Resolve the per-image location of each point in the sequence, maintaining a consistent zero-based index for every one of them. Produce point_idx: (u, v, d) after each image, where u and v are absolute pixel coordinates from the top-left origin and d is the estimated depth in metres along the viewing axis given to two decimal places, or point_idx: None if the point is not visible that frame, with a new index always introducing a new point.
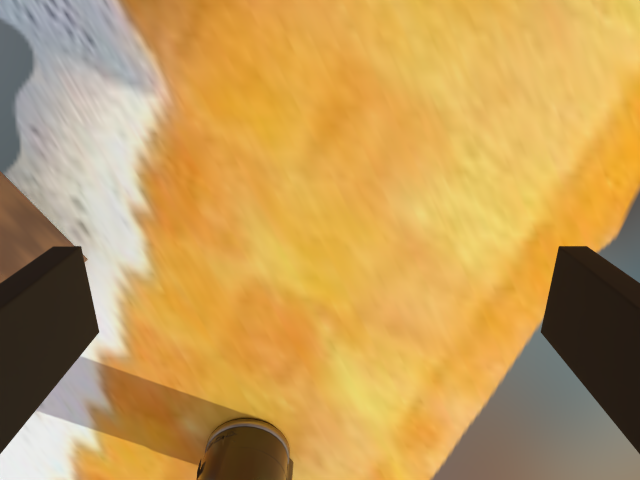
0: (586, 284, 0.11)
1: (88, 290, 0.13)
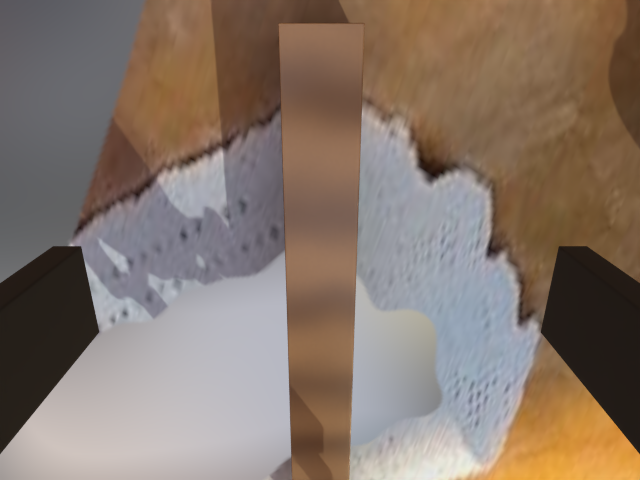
0: (586, 284, 0.11)
1: (88, 290, 0.13)
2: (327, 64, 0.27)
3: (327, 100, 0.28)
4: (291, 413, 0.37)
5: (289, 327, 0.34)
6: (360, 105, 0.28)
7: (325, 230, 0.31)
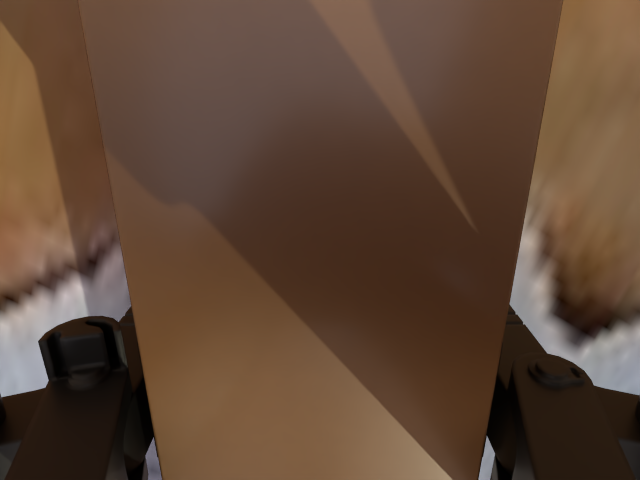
0: None
1: None
2: (354, 84, 0.05)
3: (352, 256, 0.06)
4: None
5: None
6: (509, 279, 0.06)
7: None
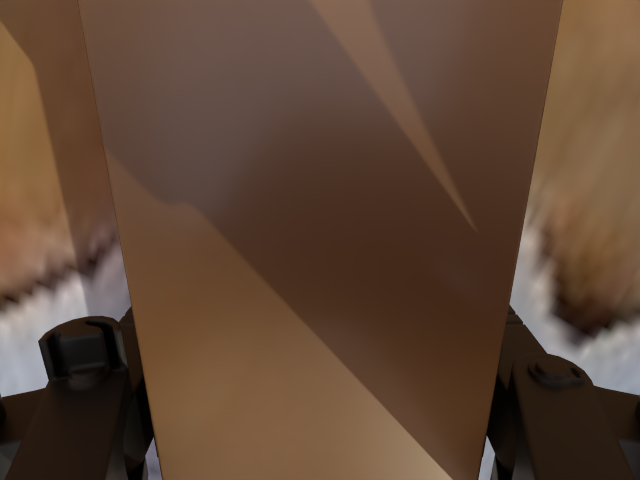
0: None
1: None
2: (354, 84, 0.05)
3: (352, 256, 0.06)
4: None
5: None
6: (509, 279, 0.06)
7: None
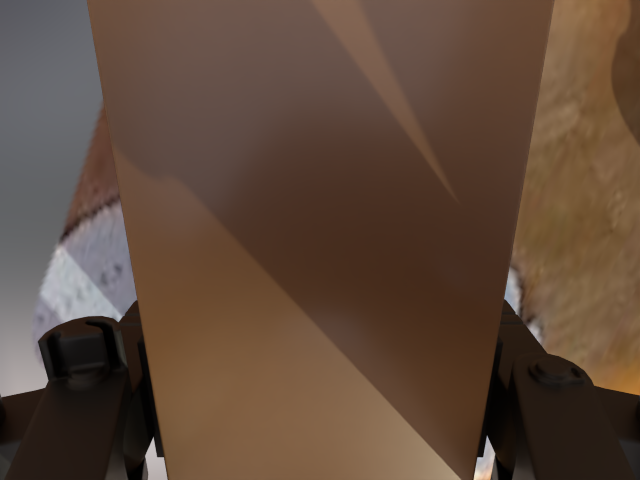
0: None
1: None
2: (354, 76, 0.05)
3: (352, 245, 0.06)
4: None
5: None
6: (504, 267, 0.06)
7: None
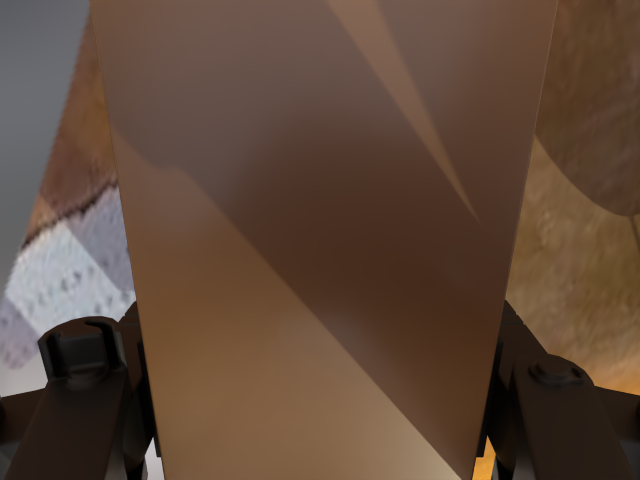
0: None
1: None
2: (356, 77, 0.05)
3: (353, 247, 0.06)
4: None
5: None
6: (505, 270, 0.06)
7: None
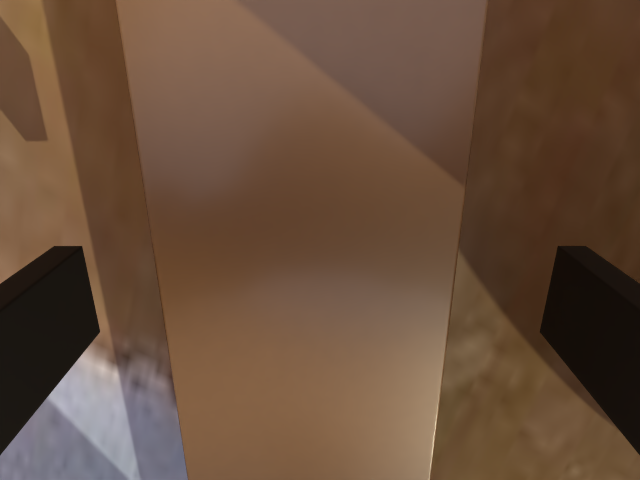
0: (585, 284, 0.11)
1: (89, 289, 0.13)
2: (329, 127, 0.07)
3: (330, 255, 0.07)
4: None
5: None
6: (451, 272, 0.07)
7: None
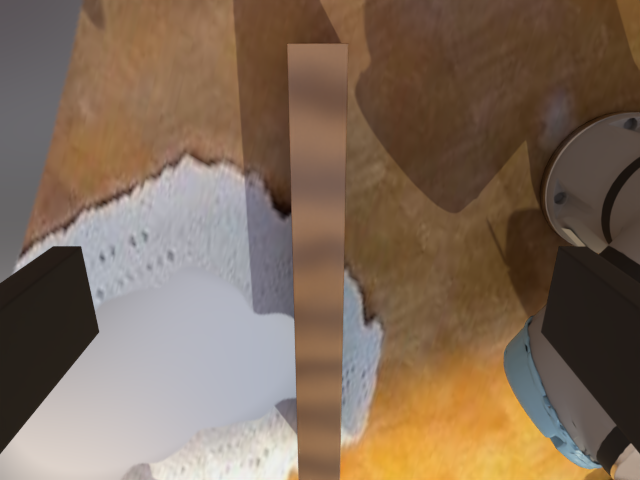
0: (586, 284, 0.11)
1: (88, 290, 0.13)
2: (322, 72, 0.38)
3: (322, 98, 0.38)
4: (296, 341, 0.47)
5: (294, 271, 0.44)
6: (346, 102, 0.38)
7: (321, 195, 0.42)
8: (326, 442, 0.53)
